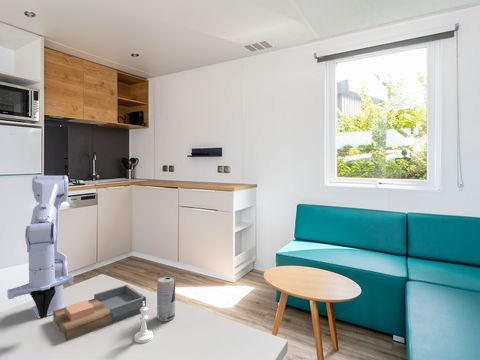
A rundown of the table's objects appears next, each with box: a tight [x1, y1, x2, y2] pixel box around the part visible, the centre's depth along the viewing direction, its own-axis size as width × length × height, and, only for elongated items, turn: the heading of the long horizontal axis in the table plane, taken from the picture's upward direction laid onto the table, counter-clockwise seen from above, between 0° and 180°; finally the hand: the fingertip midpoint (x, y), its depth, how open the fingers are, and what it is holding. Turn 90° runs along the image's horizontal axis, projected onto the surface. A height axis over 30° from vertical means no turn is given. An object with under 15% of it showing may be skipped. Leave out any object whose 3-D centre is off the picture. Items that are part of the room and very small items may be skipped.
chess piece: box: [133, 301, 154, 344], centre depth 77 cm, size 5×5×10 cm
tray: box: [93, 284, 147, 324], centre depth 92 cm, size 14×11×4 cm
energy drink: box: [156, 275, 176, 322], centre depth 88 cm, size 5×5×12 cm
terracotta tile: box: [65, 299, 94, 321], centre depth 84 cm, size 6×6×2 cm
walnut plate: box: [52, 298, 114, 342], centre depth 85 cm, size 14×12×3 cm
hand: (42, 316), depth 77 cm, fingers closed
